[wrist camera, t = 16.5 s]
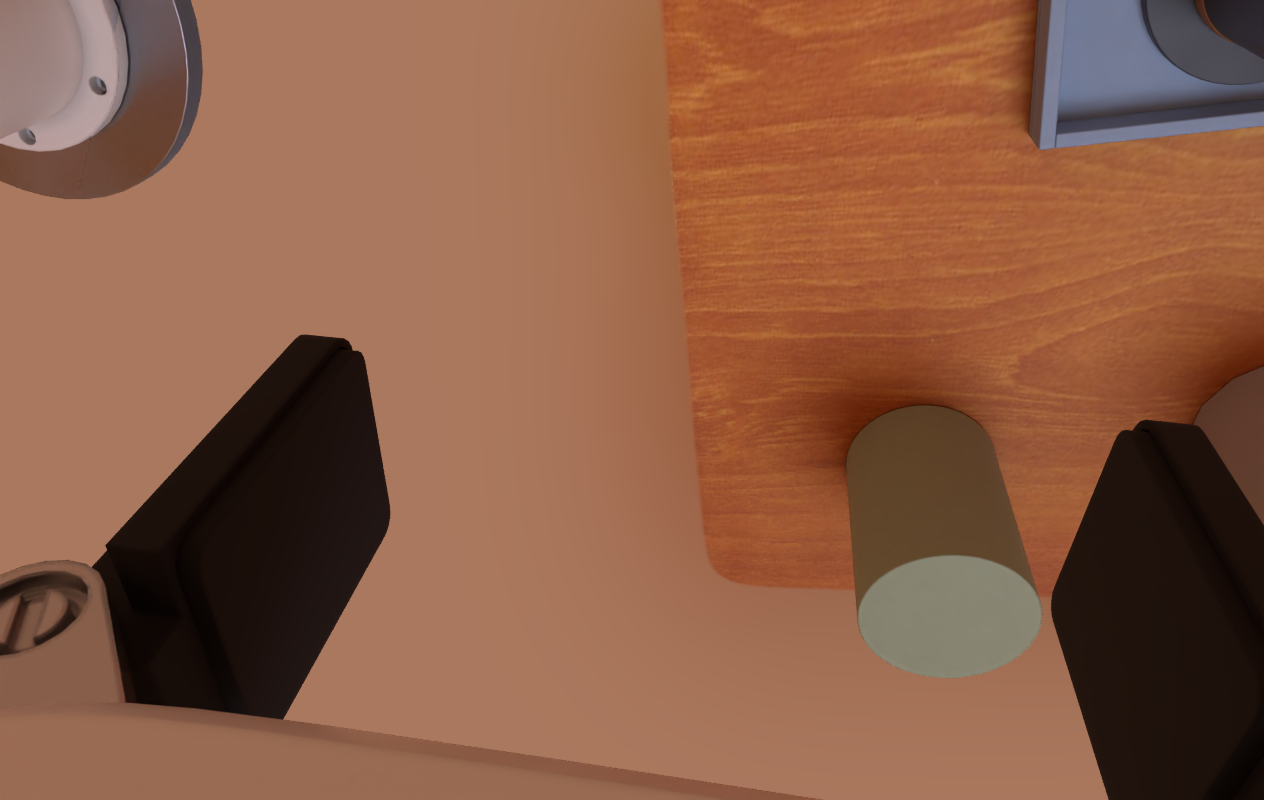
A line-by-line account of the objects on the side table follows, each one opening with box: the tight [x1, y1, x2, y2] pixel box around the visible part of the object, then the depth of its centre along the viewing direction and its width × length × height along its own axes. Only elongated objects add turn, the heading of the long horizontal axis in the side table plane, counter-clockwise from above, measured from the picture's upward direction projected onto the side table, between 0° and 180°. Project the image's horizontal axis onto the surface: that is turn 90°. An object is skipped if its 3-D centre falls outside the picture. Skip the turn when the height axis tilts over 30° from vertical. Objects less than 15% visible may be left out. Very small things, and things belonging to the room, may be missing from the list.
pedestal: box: [846, 405, 1042, 678], centre depth 43 cm, size 8×8×11 cm
